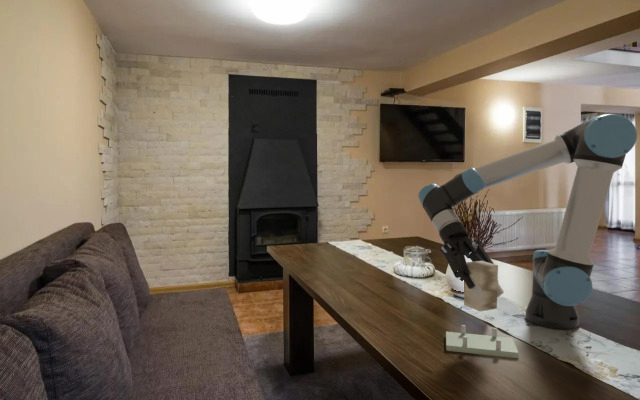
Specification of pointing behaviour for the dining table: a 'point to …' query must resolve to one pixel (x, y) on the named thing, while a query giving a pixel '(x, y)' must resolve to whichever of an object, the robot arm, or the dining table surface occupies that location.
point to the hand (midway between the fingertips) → (490, 296)
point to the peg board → (481, 344)
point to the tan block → (482, 285)
